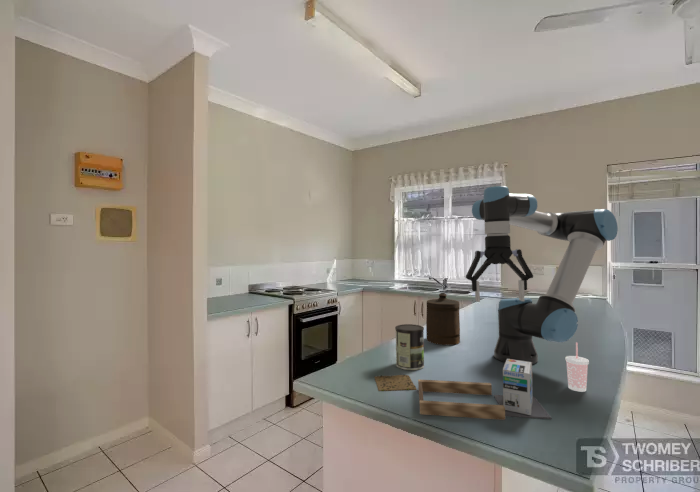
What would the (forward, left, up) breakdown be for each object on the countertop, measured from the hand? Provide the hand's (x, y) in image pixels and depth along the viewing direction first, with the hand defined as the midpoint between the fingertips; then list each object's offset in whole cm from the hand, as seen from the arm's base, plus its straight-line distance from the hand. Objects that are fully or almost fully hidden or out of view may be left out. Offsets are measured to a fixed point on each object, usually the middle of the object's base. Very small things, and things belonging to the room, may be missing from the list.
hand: (499, 301), depth 113 cm
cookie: (+34, +6, -26) cm, 43 cm away
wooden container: (+14, -46, -26) cm, 54 cm away
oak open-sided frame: (+16, +18, -26) cm, 35 cm away
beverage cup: (-21, +3, -26) cm, 34 cm away
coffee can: (+29, -11, -26) cm, 40 cm away
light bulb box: (0, +18, -26) cm, 31 cm away
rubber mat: (-1, +18, -26) cm, 32 cm away
